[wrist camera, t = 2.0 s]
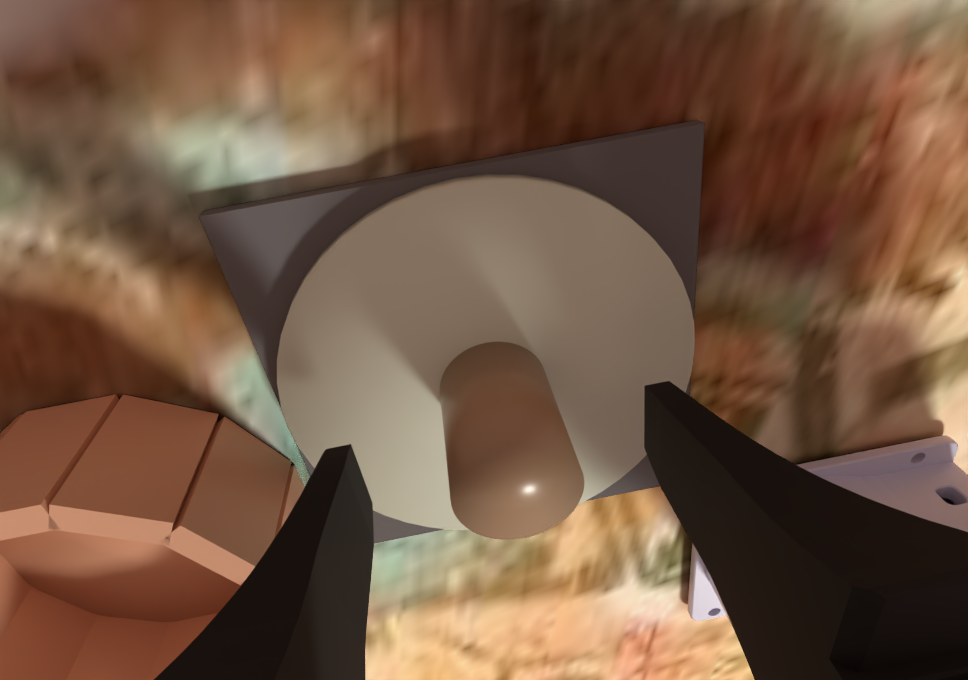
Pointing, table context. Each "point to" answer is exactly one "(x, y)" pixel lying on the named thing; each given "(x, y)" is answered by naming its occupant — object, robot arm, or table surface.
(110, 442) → the bowl
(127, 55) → the table surface
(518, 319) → the lid
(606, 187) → the mat
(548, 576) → the table surface
